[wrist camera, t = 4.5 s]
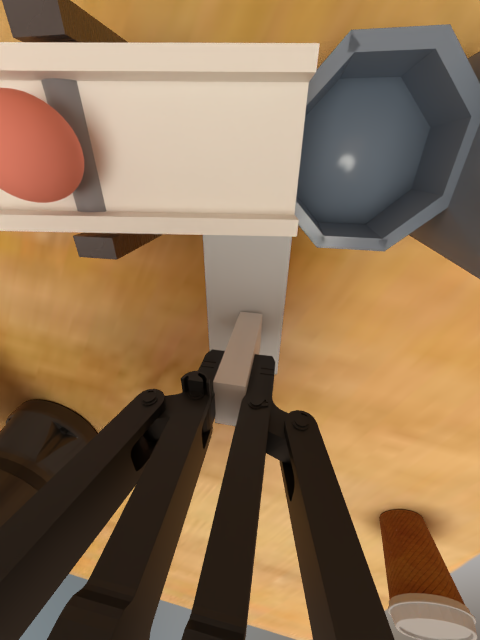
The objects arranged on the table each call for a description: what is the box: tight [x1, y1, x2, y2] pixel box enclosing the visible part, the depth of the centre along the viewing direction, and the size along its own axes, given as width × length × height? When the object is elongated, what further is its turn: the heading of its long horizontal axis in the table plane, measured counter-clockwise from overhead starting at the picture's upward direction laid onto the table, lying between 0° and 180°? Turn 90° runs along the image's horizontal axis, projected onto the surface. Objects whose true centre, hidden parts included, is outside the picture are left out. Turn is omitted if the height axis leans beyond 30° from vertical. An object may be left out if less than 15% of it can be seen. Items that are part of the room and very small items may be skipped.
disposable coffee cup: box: [380, 509, 477, 640], centre depth 37 cm, size 10×10×12 cm
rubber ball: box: [0, 88, 84, 203], centre depth 11 cm, size 4×4×4 cm
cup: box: [294, 24, 480, 279], centre depth 13 cm, size 12×11×16 cm
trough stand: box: [2, 0, 163, 259], centre depth 17 cm, size 6×11×11 cm, turn 179°
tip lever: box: [0, 42, 320, 374], centre depth 16 cm, size 22×18×4 cm
